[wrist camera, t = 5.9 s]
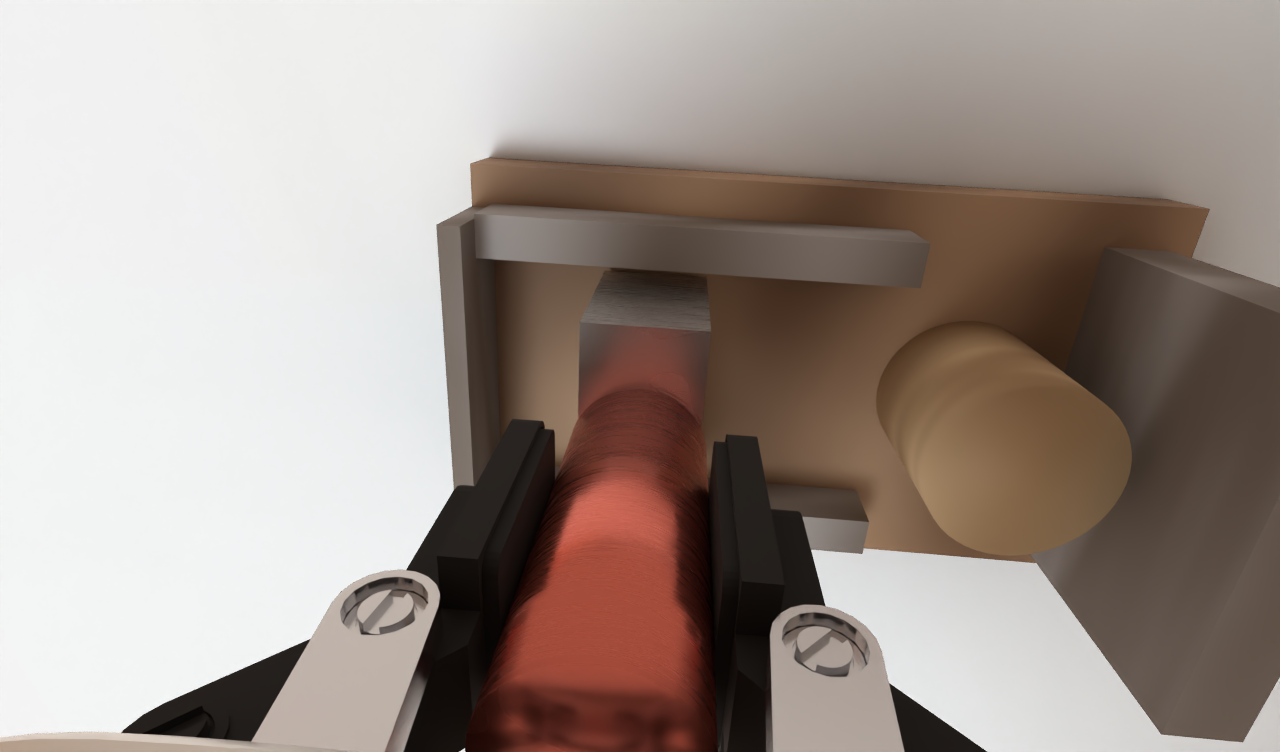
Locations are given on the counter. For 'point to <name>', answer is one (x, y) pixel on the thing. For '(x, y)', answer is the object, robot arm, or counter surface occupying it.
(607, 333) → the handle
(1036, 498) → the tan wooden knob
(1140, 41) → the counter surface
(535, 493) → the robot arm
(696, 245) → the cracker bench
